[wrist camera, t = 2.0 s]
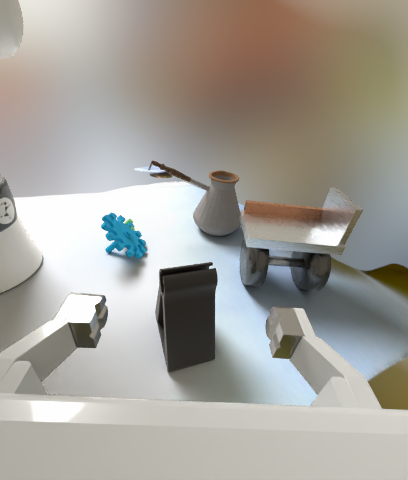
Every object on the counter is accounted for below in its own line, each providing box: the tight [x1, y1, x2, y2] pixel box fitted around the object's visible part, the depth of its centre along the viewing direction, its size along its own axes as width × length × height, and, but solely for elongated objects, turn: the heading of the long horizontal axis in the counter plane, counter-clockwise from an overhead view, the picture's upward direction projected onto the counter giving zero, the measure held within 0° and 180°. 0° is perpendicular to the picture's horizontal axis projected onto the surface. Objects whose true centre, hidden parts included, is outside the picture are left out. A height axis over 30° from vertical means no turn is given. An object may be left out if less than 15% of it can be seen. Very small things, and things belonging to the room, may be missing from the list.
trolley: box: [239, 188, 363, 290], centre depth 40 cm, size 15×10×17 cm
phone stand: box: [155, 262, 217, 372], centre depth 30 cm, size 9×6×12 cm, turn 19°
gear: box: [101, 213, 147, 258], centre depth 46 cm, size 11×6×10 cm
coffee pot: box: [149, 161, 241, 236], centre depth 53 cm, size 21×12×15 cm, turn 97°
